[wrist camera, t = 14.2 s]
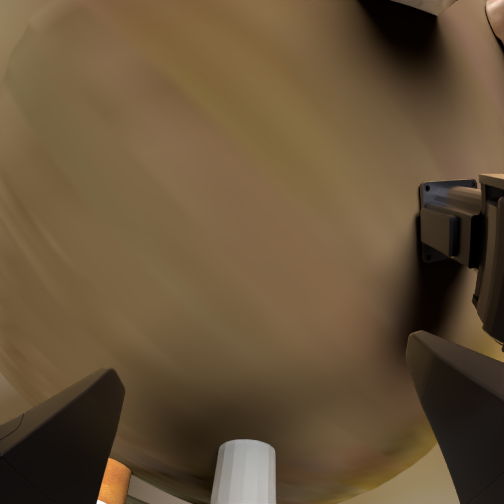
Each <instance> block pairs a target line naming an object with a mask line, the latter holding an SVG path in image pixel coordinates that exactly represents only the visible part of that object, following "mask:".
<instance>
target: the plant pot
mask: <svg viewBox="0 0 504 504" xmlns="http://www.w3.org/2000/svg"><path fill="white" fill-rule="evenodd" d="M486 12H487V16H488V19H489V22H490V24H491V26H492V29H493V31H494V33H495V35H496V36H497V37H498V38H500V39H501V41H502V42H503V45H504V0H488V1H487V3H486Z"/></svg>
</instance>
